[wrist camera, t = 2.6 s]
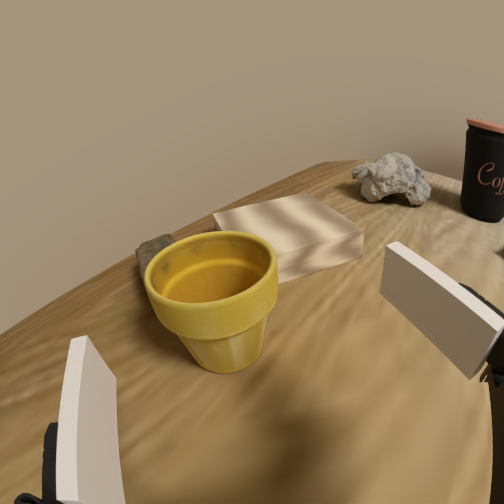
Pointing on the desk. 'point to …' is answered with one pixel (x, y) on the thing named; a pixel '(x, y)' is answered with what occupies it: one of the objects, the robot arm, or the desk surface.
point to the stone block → (152, 250)
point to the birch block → (297, 233)
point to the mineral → (392, 179)
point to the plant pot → (216, 296)
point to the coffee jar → (483, 171)
